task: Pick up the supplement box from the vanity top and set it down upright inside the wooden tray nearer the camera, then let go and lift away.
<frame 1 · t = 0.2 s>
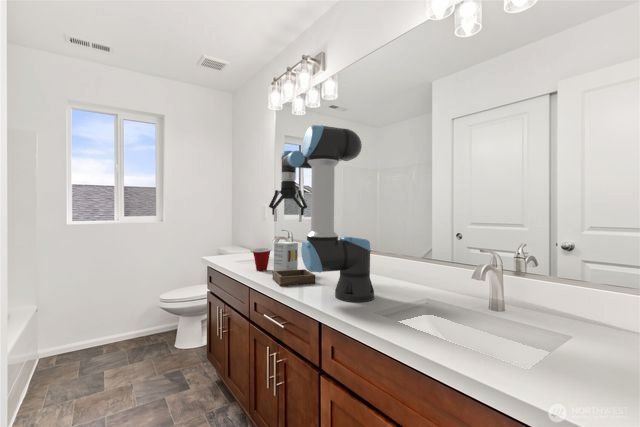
hand: (287, 221, 160), 28 cm above the table, fingers open, 13 cm apart
supplement box: (285, 274, 161), on the table
wooden tray: (293, 281, 144), on the table
plastic cup: (261, 270, 172), on the table
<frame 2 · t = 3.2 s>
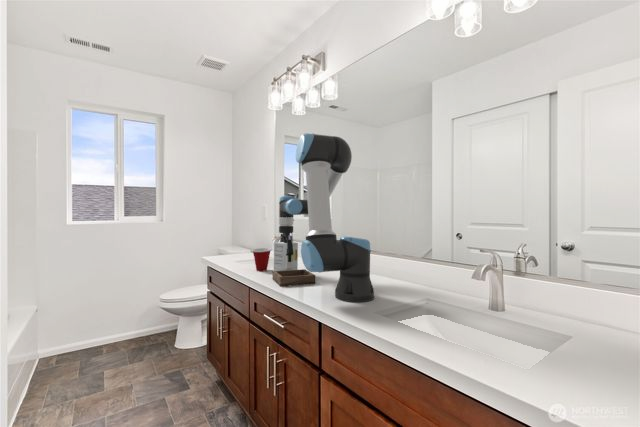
hand: (285, 266, 161), 4 cm above the table, fingers closed on supplement box, 12 cm apart
supplement box: (285, 274, 161), on the table, touching gripper
everything else where it was.
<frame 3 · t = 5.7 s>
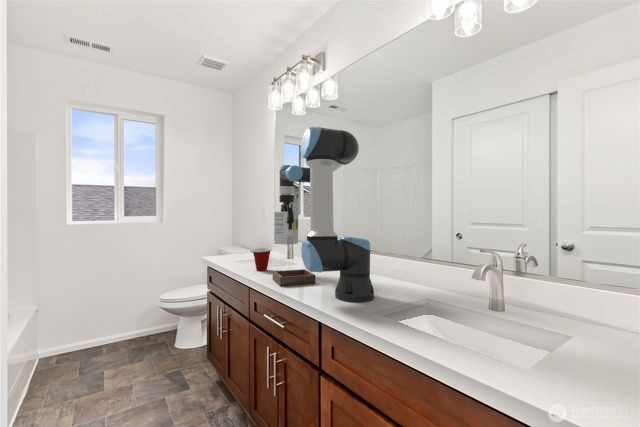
hand: (286, 235, 161), 20 cm above the table, fingers closed on supplement box, 12 cm apart
supplement box: (286, 244, 161), point 16 cm above the table, touching gripper
everything else where it was.
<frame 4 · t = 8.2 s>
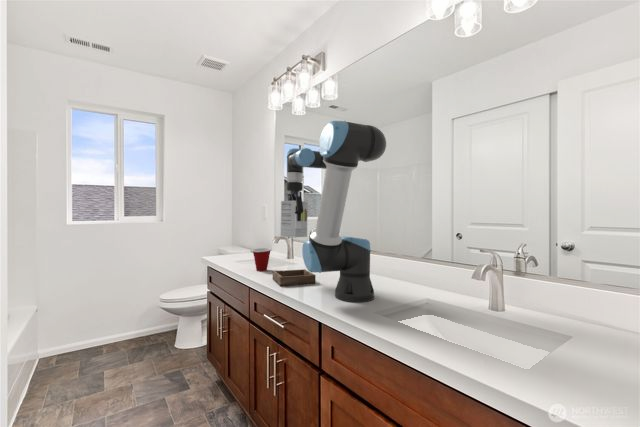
hand: (294, 227, 144), 25 cm above the table, fingers closed on supplement box, 12 cm apart
supplement box: (293, 237, 144), point 21 cm above the table, touching gripper
everything else where it was.
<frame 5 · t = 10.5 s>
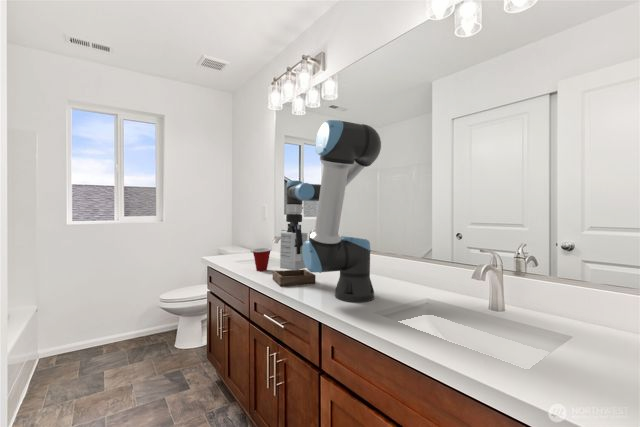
hand: (293, 259, 144), 11 cm above the table, fingers closed on supplement box, 12 cm apart
supplement box: (293, 268, 144), point 6 cm above the table, touching gripper
everything else where it was.
when the fingers open (7 cm above the table, at t = 12.8 s): supplement box drops 2 cm, resting on wooden tray.
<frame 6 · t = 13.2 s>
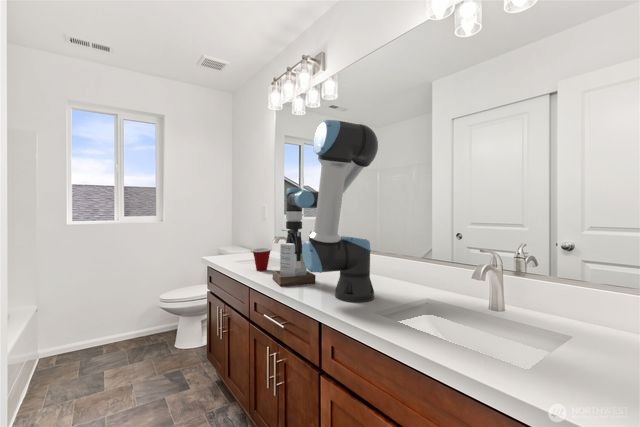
hand: (293, 265, 144), 7 cm above the table, fingers open, 13 cm apart
supplement box: (293, 279, 144), point 1 cm above the table, touching gripper, wooden tray
everything else where it was.
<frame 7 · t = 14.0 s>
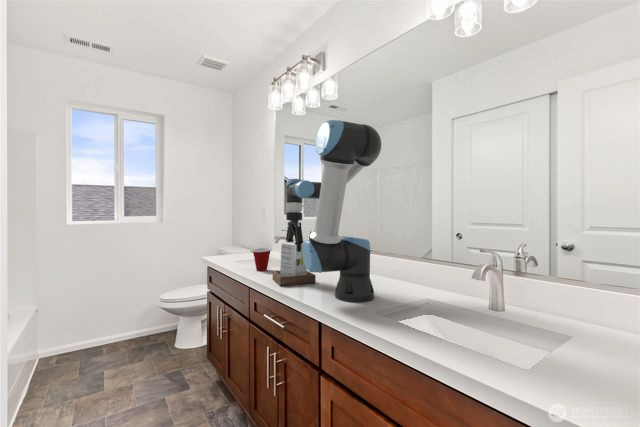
hand: (293, 257, 144), 12 cm above the table, fingers open, 13 cm apart
nothing on the table moved.
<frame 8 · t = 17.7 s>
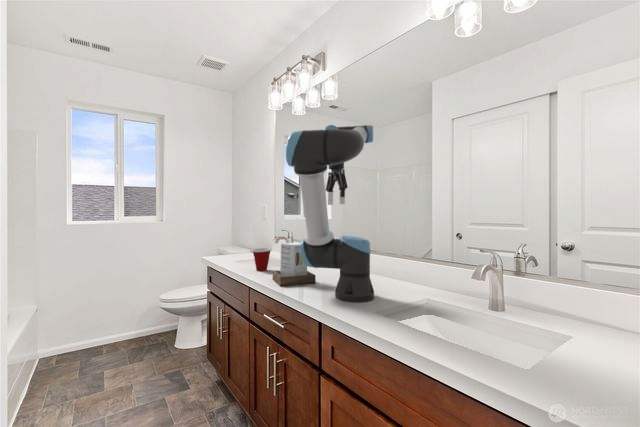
hand: (335, 204, 149), 37 cm above the table, fingers open, 13 cm apart
supplement box: (293, 279, 145), point 1 cm above the table, touching wooden tray
everything else where it was.
at the end: supplement box 0.5 cm off-centre on the wooden tray, point 0.8 cm above the wooden tray's base; supplement box tilted 0°; the gripper is holding nothing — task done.
